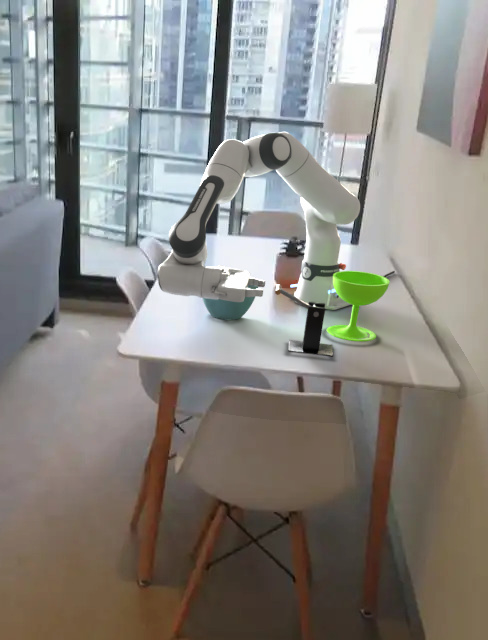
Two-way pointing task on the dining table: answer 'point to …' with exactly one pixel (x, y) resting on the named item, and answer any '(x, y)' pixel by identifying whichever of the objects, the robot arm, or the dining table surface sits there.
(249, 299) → the teal ceramic bowl
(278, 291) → the lever
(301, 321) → the dining table surface
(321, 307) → the bracket
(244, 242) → the dining table surface
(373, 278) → the wineglass
